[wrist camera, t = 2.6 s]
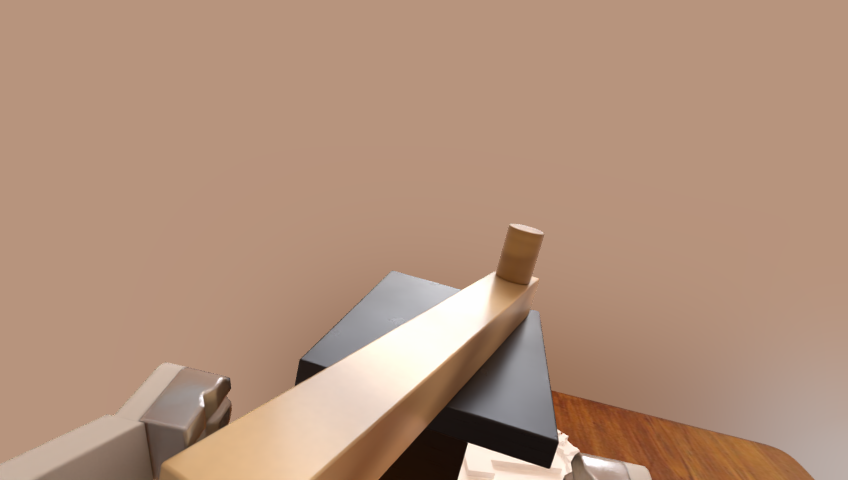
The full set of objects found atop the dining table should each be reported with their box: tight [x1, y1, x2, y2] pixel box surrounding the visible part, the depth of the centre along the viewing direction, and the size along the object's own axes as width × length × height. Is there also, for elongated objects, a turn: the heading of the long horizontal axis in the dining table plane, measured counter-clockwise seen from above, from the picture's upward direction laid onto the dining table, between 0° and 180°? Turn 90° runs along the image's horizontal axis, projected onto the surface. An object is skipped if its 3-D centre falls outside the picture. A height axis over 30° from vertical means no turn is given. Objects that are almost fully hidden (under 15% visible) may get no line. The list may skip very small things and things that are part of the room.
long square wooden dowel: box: [159, 224, 544, 480], centre depth 19 cm, size 23×2×5 cm, turn 154°
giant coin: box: [458, 430, 580, 480], centre depth 54 cm, size 20×20×3 cm
